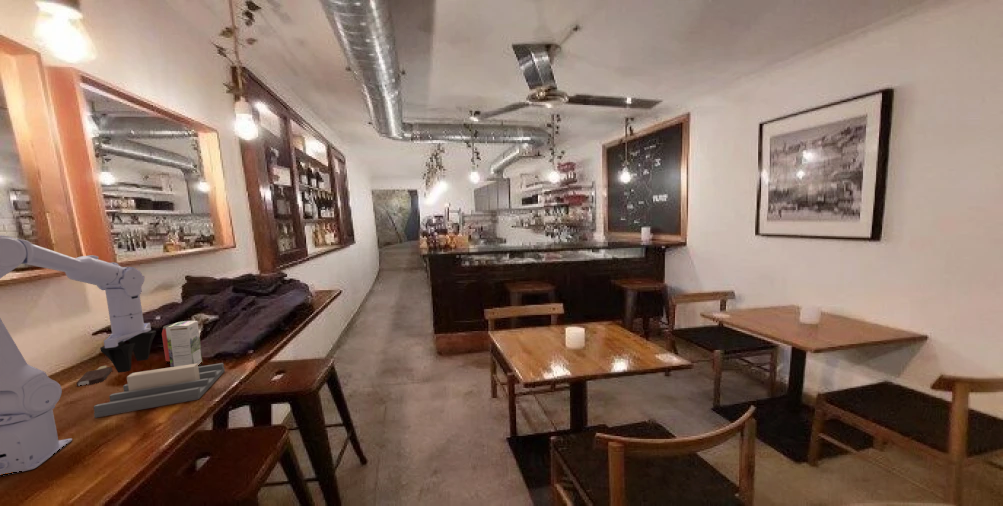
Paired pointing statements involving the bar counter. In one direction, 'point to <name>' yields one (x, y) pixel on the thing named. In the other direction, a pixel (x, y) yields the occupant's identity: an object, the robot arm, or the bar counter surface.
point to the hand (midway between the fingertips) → (134, 365)
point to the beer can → (165, 342)
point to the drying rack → (160, 393)
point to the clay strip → (163, 377)
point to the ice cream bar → (95, 376)
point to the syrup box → (184, 343)
